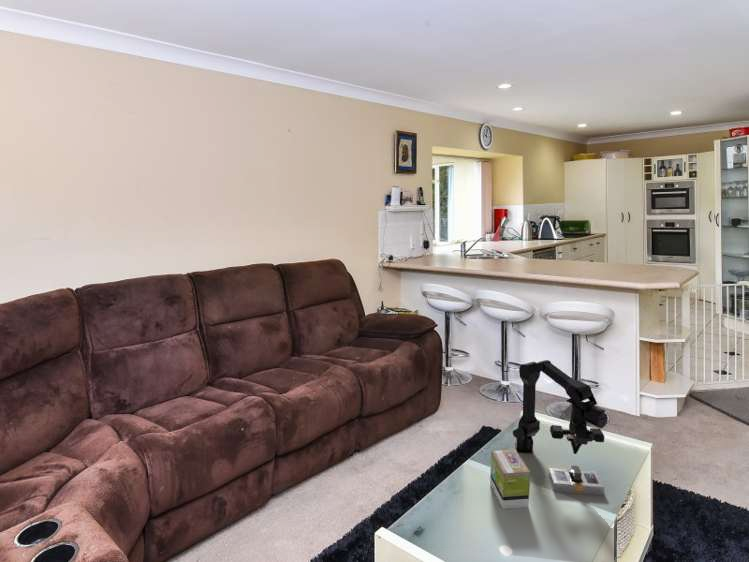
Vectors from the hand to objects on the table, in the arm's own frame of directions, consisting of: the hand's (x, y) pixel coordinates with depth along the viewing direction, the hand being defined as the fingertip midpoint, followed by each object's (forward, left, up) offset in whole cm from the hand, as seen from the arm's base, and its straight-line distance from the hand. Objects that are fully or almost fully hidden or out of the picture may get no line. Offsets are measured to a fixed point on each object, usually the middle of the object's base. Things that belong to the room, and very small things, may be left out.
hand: (574, 453), depth 194 cm
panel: (0, -4, -11) cm, 11 cm away
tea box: (-26, -14, -12) cm, 32 cm away
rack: (0, -4, -11) cm, 12 cm away
